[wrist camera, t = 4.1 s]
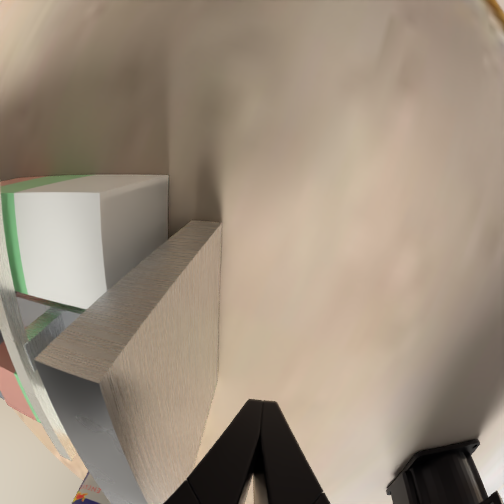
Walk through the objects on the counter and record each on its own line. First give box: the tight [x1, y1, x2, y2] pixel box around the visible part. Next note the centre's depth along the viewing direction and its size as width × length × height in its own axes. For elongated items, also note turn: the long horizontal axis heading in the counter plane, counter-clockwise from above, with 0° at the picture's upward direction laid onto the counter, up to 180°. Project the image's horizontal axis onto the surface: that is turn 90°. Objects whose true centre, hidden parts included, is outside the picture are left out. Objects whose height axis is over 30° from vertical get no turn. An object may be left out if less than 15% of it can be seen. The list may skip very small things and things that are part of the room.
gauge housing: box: [0, 174, 169, 423], centre depth 11 cm, size 12×11×5 cm
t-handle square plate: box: [0, 187, 222, 504], centre depth 9 cm, size 9×12×9 cm
